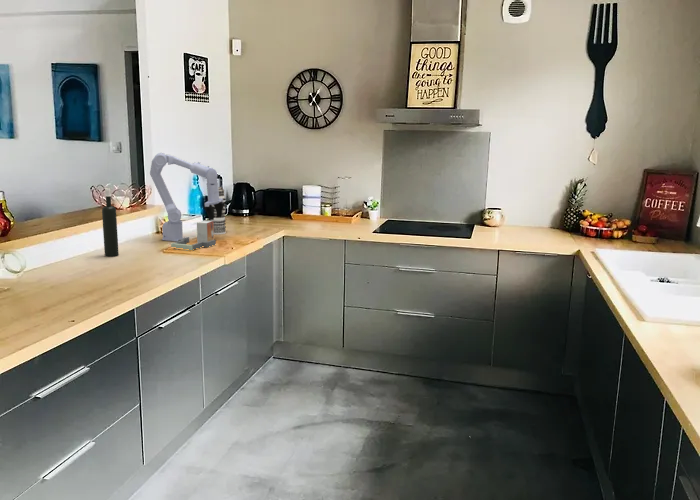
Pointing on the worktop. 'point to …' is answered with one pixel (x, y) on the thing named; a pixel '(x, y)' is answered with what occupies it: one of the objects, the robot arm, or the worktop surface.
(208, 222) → the small box
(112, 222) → the wine bottle
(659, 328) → the worktop surface
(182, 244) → the keyhole jig
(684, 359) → the worktop surface
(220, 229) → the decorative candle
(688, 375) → the worktop surface
